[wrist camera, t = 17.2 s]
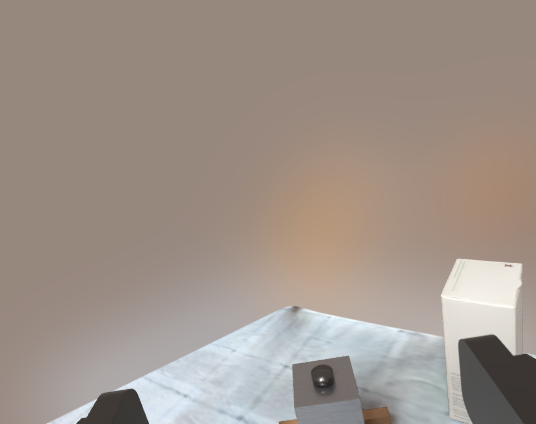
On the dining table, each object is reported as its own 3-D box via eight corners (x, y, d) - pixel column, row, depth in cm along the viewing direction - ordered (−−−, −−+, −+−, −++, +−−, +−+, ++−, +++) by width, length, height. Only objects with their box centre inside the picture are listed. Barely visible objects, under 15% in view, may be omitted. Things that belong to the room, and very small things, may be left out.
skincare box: (463, 370, 48) (455, 256, 44) (527, 385, 44) (525, 261, 40) (447, 421, 42) (436, 293, 38) (521, 444, 38) (517, 304, 34)
